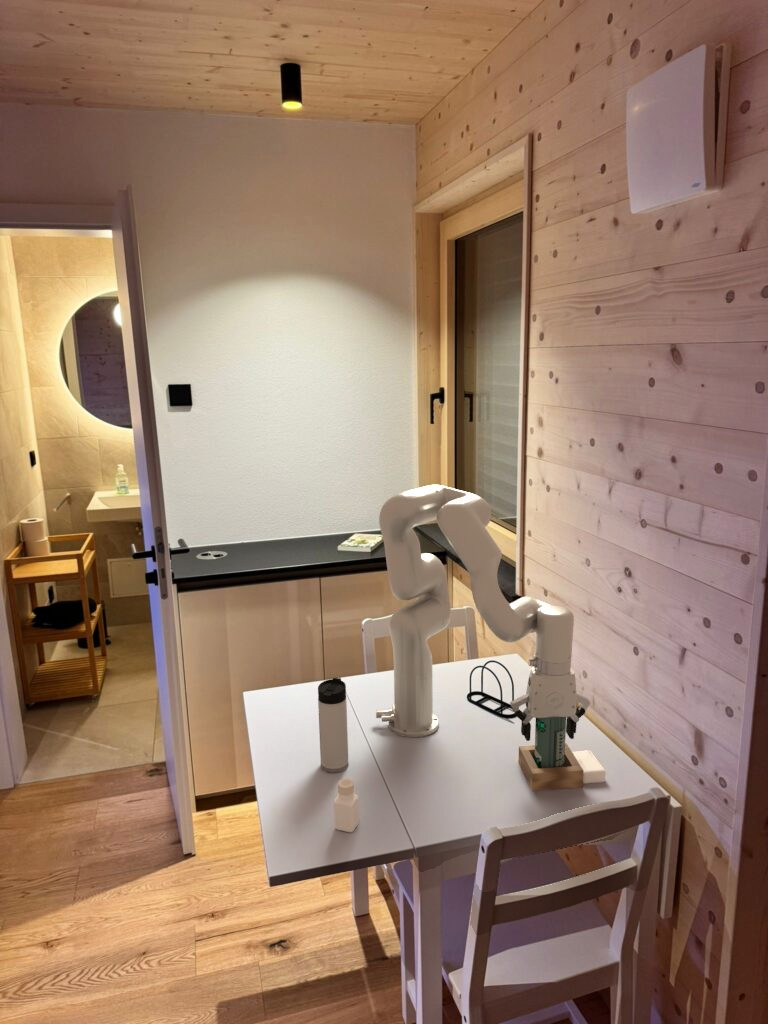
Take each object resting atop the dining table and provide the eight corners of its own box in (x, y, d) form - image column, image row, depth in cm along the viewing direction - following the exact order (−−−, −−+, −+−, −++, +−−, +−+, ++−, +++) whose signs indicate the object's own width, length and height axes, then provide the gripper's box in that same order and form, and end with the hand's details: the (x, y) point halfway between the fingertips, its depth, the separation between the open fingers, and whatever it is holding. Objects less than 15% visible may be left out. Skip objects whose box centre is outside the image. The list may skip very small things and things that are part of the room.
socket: (532, 790, 154) (532, 773, 153) (518, 762, 165) (518, 746, 164) (582, 787, 155) (583, 770, 154) (565, 759, 166) (566, 743, 165)
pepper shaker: (333, 830, 143) (332, 786, 141) (342, 818, 146) (340, 775, 144) (352, 834, 141) (351, 790, 139) (360, 822, 145) (359, 779, 143)
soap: (606, 783, 157) (606, 770, 156) (581, 785, 156) (582, 772, 156) (590, 760, 166) (590, 748, 165) (566, 762, 165) (567, 750, 164)
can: (541, 763, 164) (543, 702, 161) (567, 772, 161) (569, 709, 158) (530, 776, 159) (532, 713, 156) (556, 785, 156) (558, 721, 153)
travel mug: (353, 760, 167) (350, 679, 163) (342, 775, 161) (339, 692, 157) (328, 755, 169) (325, 675, 165) (316, 770, 163) (312, 688, 159)
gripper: (517, 673, 150) (513, 747, 154) (598, 670, 152) (592, 744, 156) (508, 657, 157) (504, 729, 161) (585, 655, 159) (580, 726, 163)
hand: (548, 736), depth 159 cm, fingers open, 9 cm apart
